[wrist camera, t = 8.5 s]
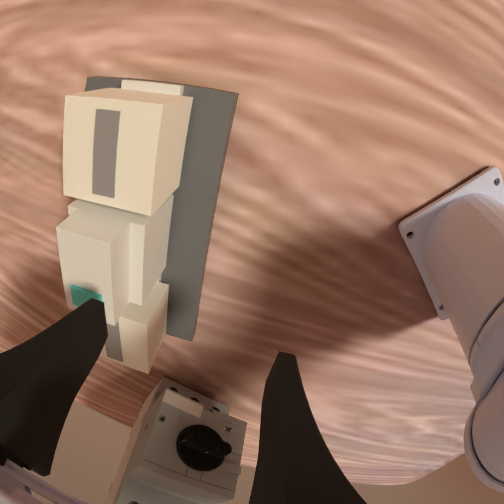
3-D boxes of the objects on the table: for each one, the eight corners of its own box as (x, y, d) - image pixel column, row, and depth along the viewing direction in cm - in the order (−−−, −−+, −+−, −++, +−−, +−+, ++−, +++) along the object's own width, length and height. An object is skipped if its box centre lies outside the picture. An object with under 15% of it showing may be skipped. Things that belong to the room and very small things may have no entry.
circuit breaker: (262, 380, 27) (237, 540, 15) (198, 430, 34) (169, 538, 22) (187, 344, 26) (129, 509, 13) (142, 404, 33) (100, 513, 20)
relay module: (106, 178, 18) (41, 224, 12) (173, 194, 18) (123, 250, 12) (105, 248, 20) (55, 305, 15) (165, 266, 20) (126, 333, 15)
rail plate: (96, 76, 16) (35, 85, 11) (238, 93, 16) (213, 100, 11) (96, 301, 25) (64, 346, 20) (195, 332, 25) (175, 387, 20)
